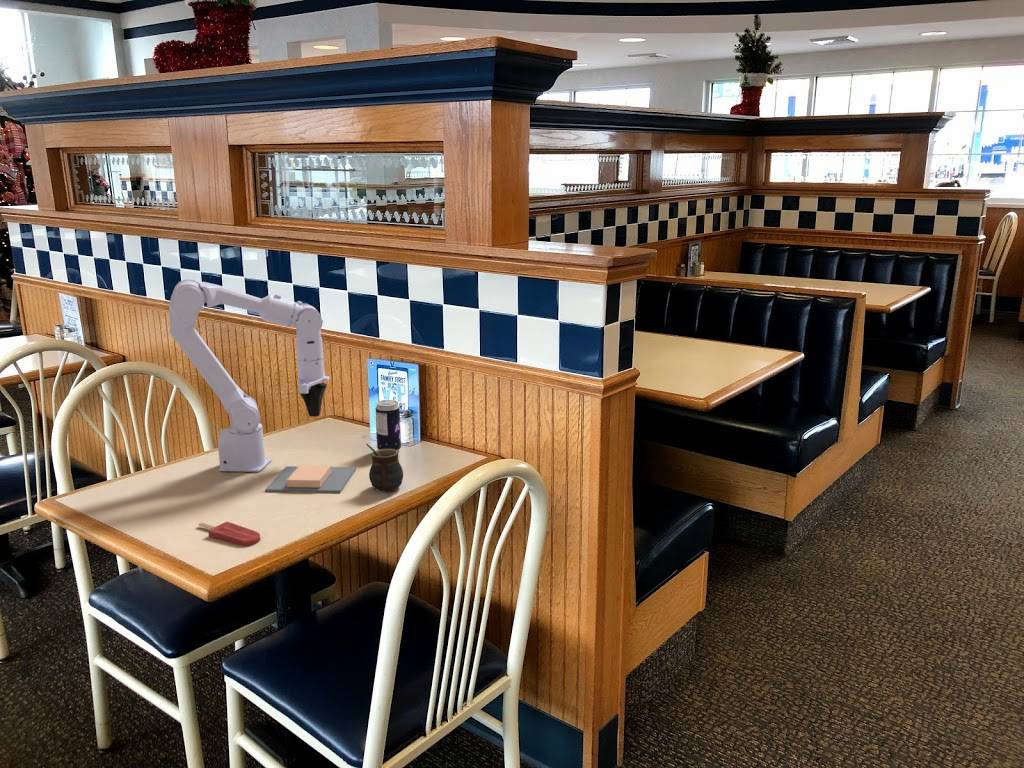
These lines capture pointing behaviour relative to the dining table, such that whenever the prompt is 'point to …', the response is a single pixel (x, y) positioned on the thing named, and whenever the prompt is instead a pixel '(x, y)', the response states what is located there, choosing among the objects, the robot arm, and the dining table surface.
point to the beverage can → (388, 425)
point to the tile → (309, 476)
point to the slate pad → (331, 485)
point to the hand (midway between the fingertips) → (314, 415)
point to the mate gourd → (385, 470)
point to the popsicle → (233, 534)
